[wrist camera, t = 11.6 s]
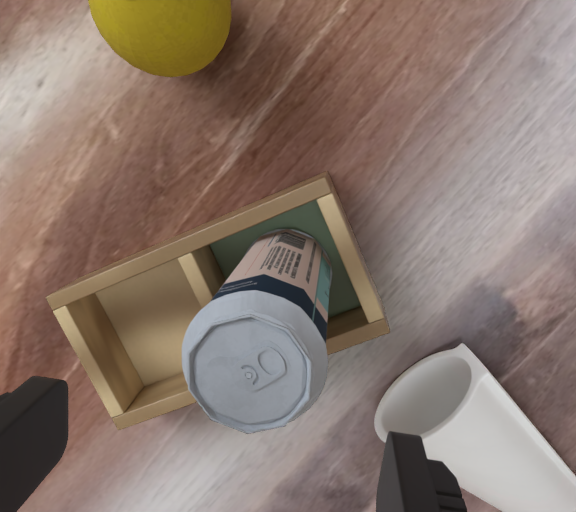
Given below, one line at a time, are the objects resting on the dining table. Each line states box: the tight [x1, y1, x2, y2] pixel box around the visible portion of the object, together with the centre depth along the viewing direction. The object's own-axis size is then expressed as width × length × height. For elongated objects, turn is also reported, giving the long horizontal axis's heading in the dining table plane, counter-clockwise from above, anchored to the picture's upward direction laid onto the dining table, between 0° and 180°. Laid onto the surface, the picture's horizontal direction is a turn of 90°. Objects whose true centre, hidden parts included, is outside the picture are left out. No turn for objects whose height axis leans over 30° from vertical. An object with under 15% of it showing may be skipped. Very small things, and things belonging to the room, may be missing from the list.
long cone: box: [375, 343, 576, 512], centre depth 28 cm, size 6×6×19 cm
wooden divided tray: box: [46, 171, 390, 430], centre depth 27 cm, size 8×15×4 cm, turn 114°
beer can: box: [182, 229, 332, 434], centre depth 21 cm, size 5×5×12 cm
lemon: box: [88, 0, 231, 77], centre depth 21 cm, size 6×6×8 cm
